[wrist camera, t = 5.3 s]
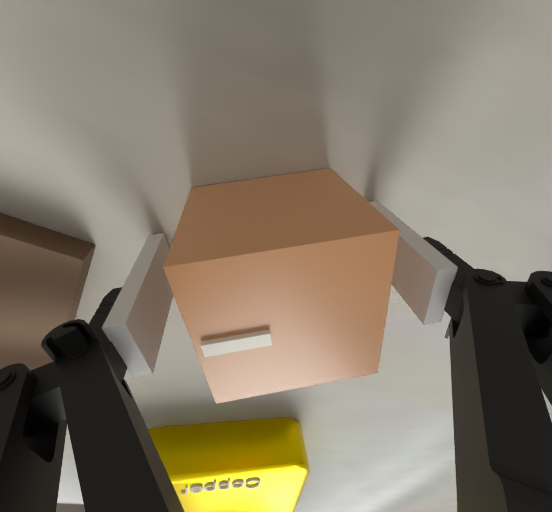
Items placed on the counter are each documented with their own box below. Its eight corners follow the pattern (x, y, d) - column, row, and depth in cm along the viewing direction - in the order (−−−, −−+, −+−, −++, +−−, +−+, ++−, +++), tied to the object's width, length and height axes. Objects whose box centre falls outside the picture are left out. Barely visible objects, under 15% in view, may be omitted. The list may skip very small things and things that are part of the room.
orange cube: (329, 168, 14) (402, 232, 8) (329, 277, 18) (379, 376, 12) (191, 187, 14) (161, 271, 8) (220, 295, 18) (215, 408, 12)
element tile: (303, 411, 27) (316, 470, 23) (283, 480, 35) (290, 533, 31) (135, 423, 24) (116, 492, 20) (154, 495, 32) (143, 555, 28)
